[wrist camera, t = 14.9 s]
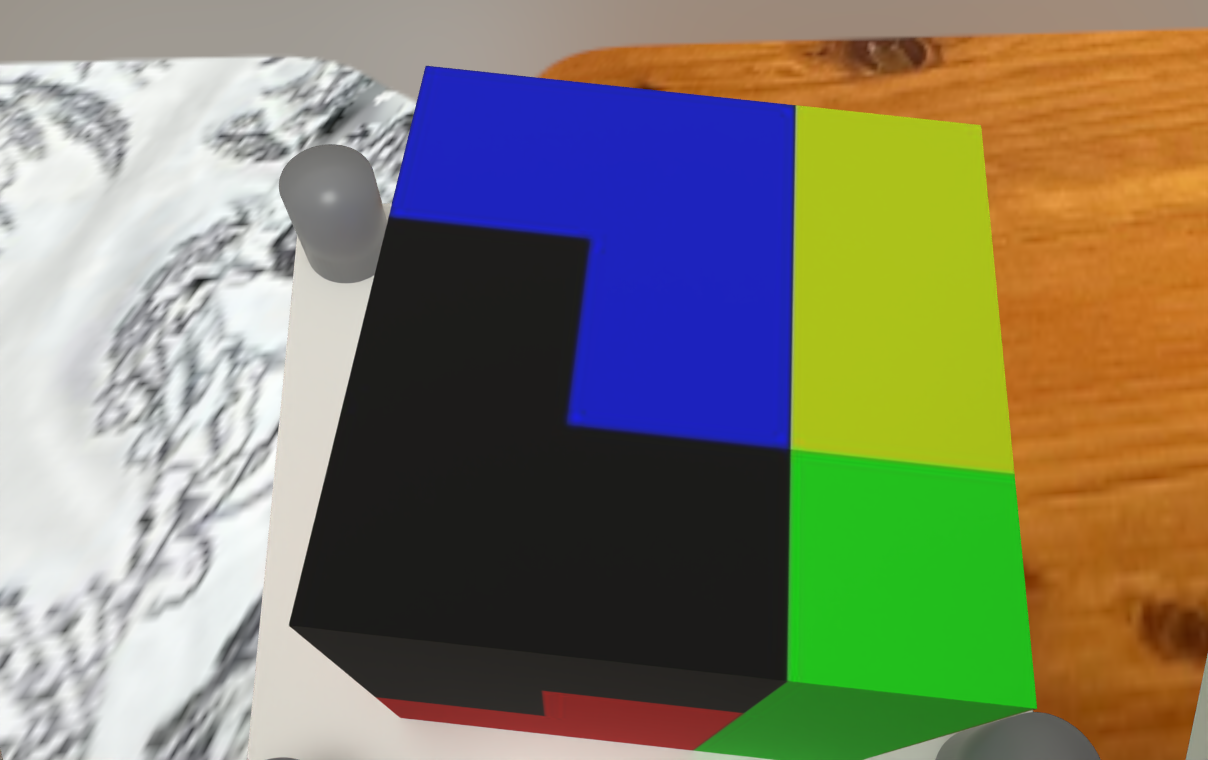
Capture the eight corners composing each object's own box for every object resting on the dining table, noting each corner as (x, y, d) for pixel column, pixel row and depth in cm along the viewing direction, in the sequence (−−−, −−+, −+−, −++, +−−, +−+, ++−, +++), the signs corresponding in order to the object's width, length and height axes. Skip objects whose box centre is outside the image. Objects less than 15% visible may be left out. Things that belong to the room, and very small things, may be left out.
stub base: (890, 220, 30) (941, 124, 26) (1037, 853, 22) (1142, 854, 18) (312, 235, 29) (272, 136, 25) (253, 909, 21) (181, 922, 17)
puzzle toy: (471, 334, 26) (425, 65, 17) (835, 374, 26) (980, 125, 17) (400, 718, 22) (288, 625, 13) (838, 766, 22) (1037, 708, 13)
